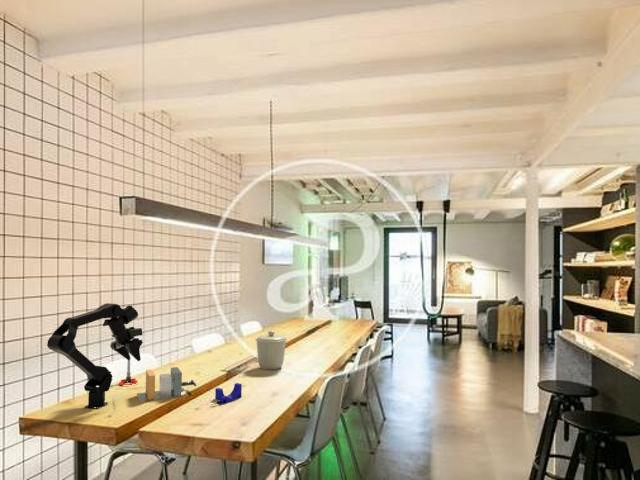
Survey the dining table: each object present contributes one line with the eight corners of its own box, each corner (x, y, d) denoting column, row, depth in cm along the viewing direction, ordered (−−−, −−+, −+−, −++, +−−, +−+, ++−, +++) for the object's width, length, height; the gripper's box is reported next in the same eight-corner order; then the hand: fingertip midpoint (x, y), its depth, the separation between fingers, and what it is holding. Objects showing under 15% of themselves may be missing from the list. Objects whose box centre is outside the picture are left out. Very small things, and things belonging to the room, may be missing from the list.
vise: (139, 405, 185) (140, 377, 186) (136, 396, 197) (137, 370, 197) (197, 397, 196) (197, 371, 196) (191, 390, 207) (192, 365, 208)
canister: (249, 370, 248) (250, 332, 249) (262, 363, 265) (263, 327, 266) (279, 372, 243) (279, 333, 244) (291, 365, 260) (291, 329, 261)
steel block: (161, 396, 192) (161, 378, 192) (159, 392, 198) (159, 374, 198) (170, 395, 194) (171, 377, 194) (168, 391, 200) (169, 373, 200)
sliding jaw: (148, 399, 187) (148, 376, 188) (145, 392, 198) (146, 370, 198) (154, 399, 188) (155, 375, 189) (151, 391, 199) (152, 369, 199)
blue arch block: (221, 404, 187) (222, 390, 187) (215, 402, 190) (215, 388, 190) (243, 398, 196) (243, 384, 197) (236, 396, 199) (237, 382, 199)
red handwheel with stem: (137, 386, 215) (137, 380, 224) (138, 359, 216) (138, 355, 224) (118, 388, 212) (119, 382, 221) (119, 361, 212) (119, 356, 221)
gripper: (145, 319, 194) (160, 350, 197) (125, 320, 206) (139, 349, 209) (122, 333, 185) (138, 365, 189) (103, 333, 197) (118, 363, 201)
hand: (134, 360), depth 197 cm, fingers open, 9 cm apart
